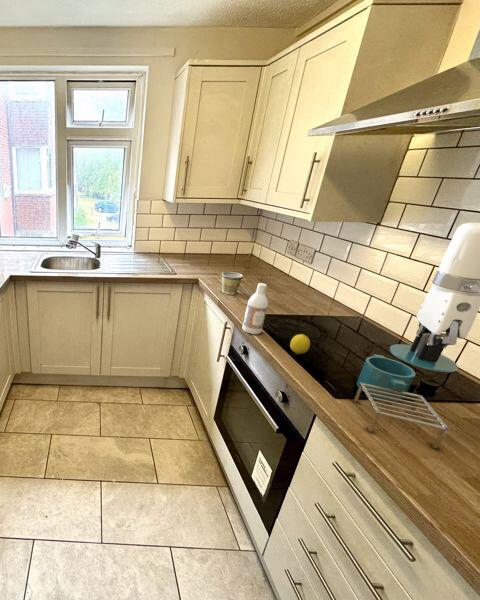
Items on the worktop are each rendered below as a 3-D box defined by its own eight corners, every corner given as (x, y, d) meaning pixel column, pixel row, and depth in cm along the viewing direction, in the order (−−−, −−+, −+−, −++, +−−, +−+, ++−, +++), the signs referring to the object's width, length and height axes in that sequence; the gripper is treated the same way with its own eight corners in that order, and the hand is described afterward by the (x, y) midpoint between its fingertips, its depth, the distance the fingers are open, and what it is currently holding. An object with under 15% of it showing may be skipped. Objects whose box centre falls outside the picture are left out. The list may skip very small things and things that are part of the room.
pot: (390, 380, 98) (401, 356, 95) (414, 412, 85) (428, 387, 81) (349, 371, 102) (358, 349, 99) (366, 401, 89) (377, 376, 85)
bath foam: (245, 334, 125) (256, 287, 117) (239, 326, 131) (249, 281, 124) (263, 335, 124) (276, 287, 117) (256, 327, 131) (267, 281, 123)
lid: (439, 354, 77) (451, 330, 74) (467, 379, 68) (482, 353, 65) (381, 344, 81) (390, 321, 79) (399, 366, 72) (411, 341, 69)
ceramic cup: (215, 292, 168) (218, 274, 165) (223, 287, 175) (227, 270, 171) (239, 299, 159) (243, 280, 156) (248, 294, 166) (252, 276, 162)
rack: (412, 413, 84) (421, 395, 82) (438, 449, 73) (450, 429, 71) (352, 399, 89) (359, 382, 87) (368, 431, 78) (377, 412, 76)
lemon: (305, 352, 112) (312, 333, 109) (306, 360, 108) (313, 339, 105) (287, 348, 115) (293, 329, 112) (287, 355, 111) (293, 335, 107)
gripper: (512, 298, 59) (465, 379, 66) (460, 274, 72) (426, 343, 79) (457, 292, 62) (418, 370, 69) (417, 270, 75) (388, 337, 82)
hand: (422, 355), depth 74 cm, fingers closed on lid, 3 cm apart
